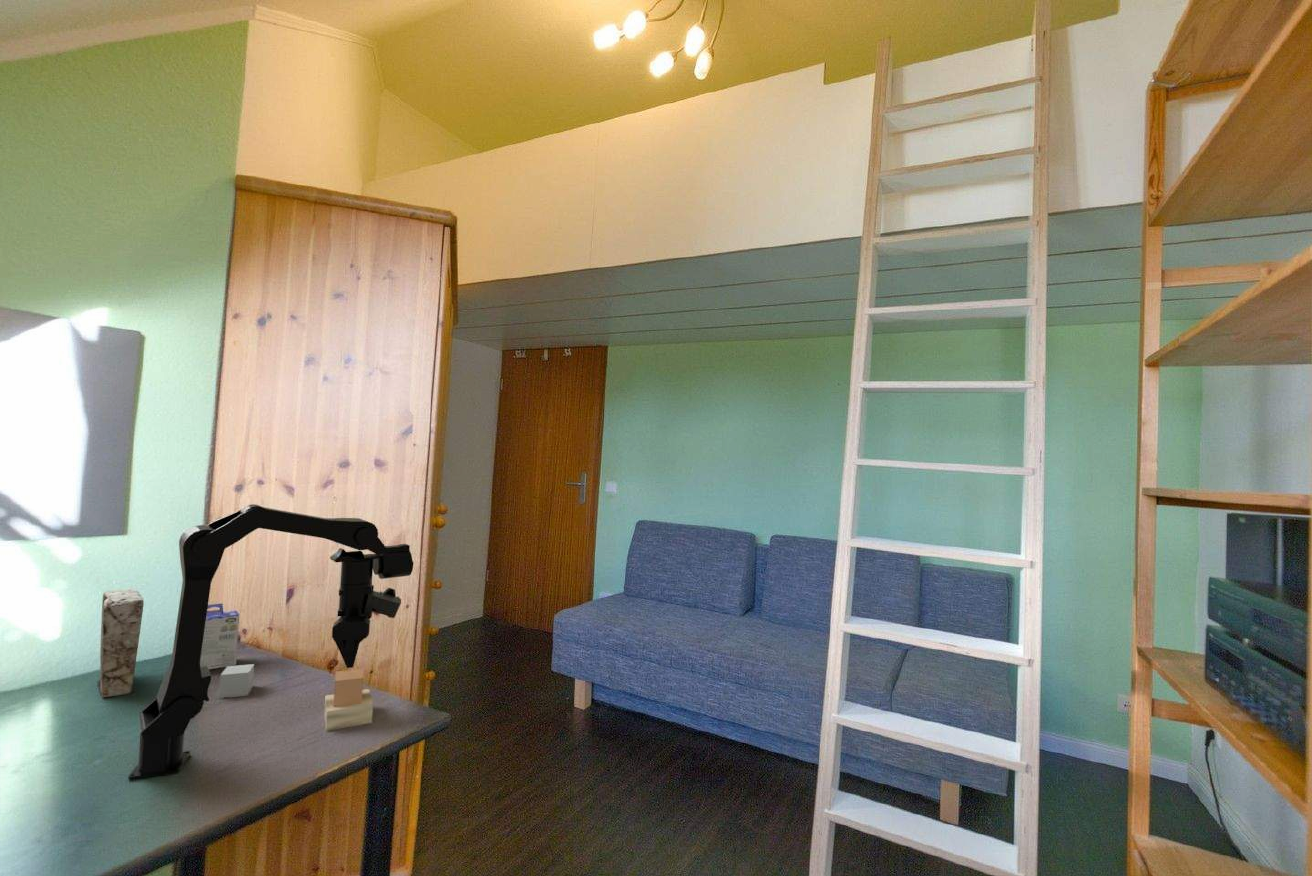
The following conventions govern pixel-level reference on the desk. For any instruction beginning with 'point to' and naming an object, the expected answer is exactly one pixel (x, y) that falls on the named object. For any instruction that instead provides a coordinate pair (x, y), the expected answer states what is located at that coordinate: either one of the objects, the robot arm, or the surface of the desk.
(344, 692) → the tan cube
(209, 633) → the ink cartridge box
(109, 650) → the stone block
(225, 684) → the light grey cube
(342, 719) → the birch block
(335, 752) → the desk surface
